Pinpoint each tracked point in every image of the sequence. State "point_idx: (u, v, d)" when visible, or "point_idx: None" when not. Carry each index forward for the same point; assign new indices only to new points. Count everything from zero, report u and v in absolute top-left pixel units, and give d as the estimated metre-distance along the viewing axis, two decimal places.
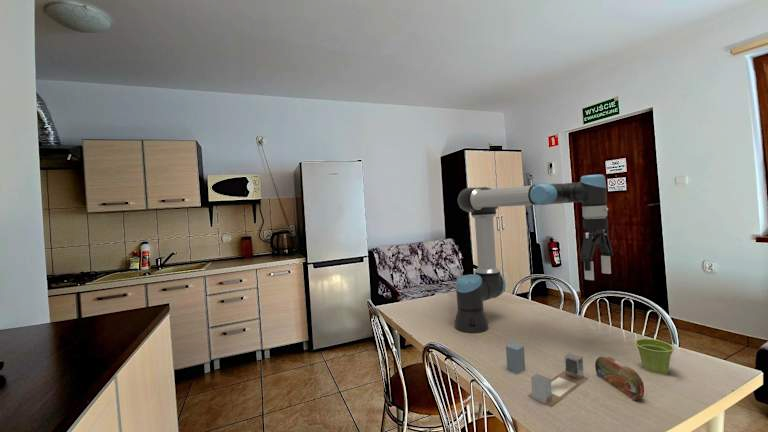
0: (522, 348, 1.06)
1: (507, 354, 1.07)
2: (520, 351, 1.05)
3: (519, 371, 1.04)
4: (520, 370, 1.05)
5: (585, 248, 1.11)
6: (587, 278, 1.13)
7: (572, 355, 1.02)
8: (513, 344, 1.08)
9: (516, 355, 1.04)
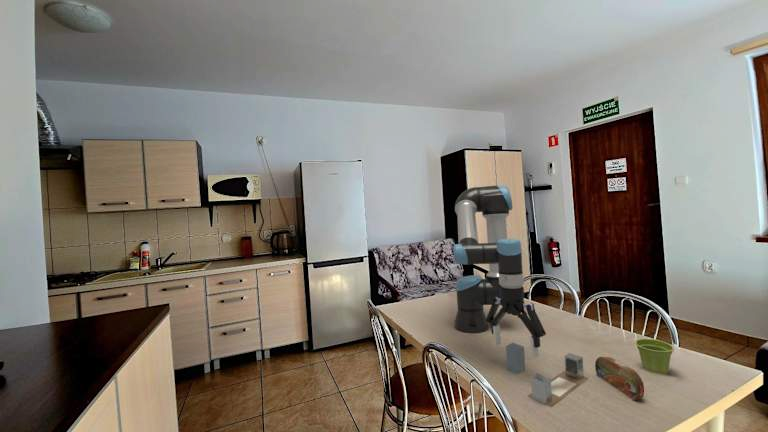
0: (522, 348, 1.06)
1: (507, 354, 1.07)
2: (520, 351, 1.05)
3: (519, 371, 1.04)
4: (520, 370, 1.05)
5: None
6: None
7: (572, 355, 1.02)
8: (513, 344, 1.08)
9: (516, 355, 1.04)
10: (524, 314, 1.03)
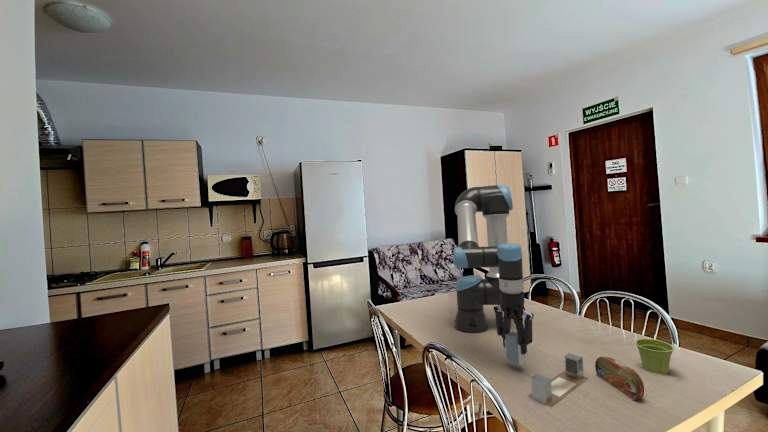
0: None
1: (506, 342, 1.07)
2: None
3: None
4: None
5: None
6: None
7: (572, 355, 1.02)
8: (512, 332, 1.08)
9: (515, 344, 1.04)
10: (520, 320, 1.05)
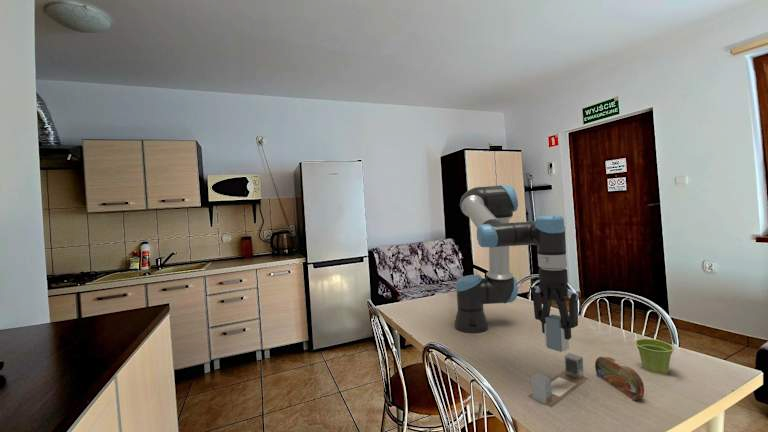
0: None
1: (547, 326, 0.95)
2: None
3: None
4: None
5: None
6: None
7: (572, 355, 1.02)
8: (553, 315, 0.96)
9: (558, 327, 0.92)
10: (563, 301, 0.93)
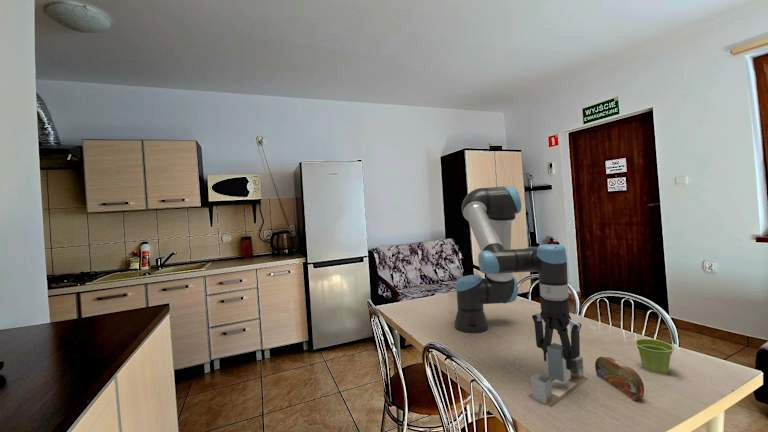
0: None
1: (548, 356, 0.95)
2: None
3: None
4: None
5: None
6: None
7: None
8: (555, 344, 0.96)
9: (560, 357, 0.92)
10: (565, 331, 0.93)
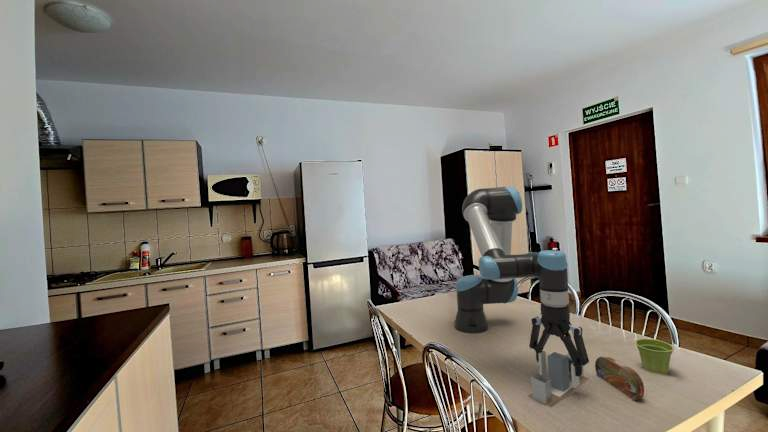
0: (567, 358, 0.94)
1: (549, 365, 0.95)
2: (564, 362, 0.94)
3: (564, 384, 0.93)
4: (565, 383, 0.93)
5: None
6: None
7: None
8: (555, 354, 0.97)
9: (560, 367, 0.93)
10: (568, 337, 0.92)
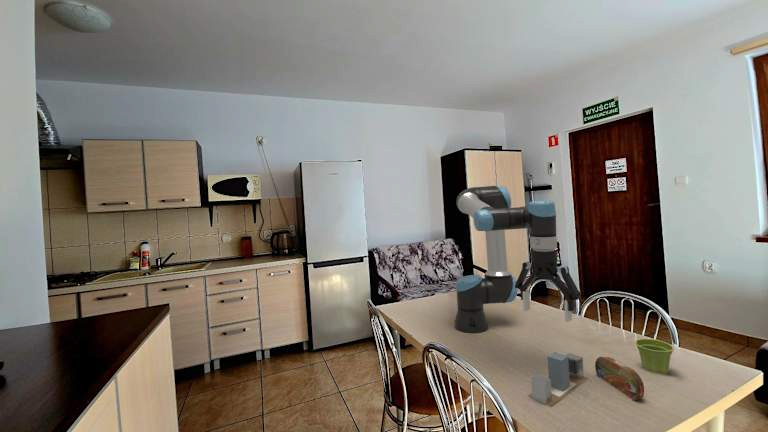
0: (567, 358, 0.94)
1: (549, 365, 0.95)
2: (564, 362, 0.94)
3: (564, 384, 0.93)
4: (565, 383, 0.93)
5: None
6: None
7: (572, 355, 1.02)
8: (555, 354, 0.97)
9: (560, 367, 0.93)
10: (557, 277, 1.00)
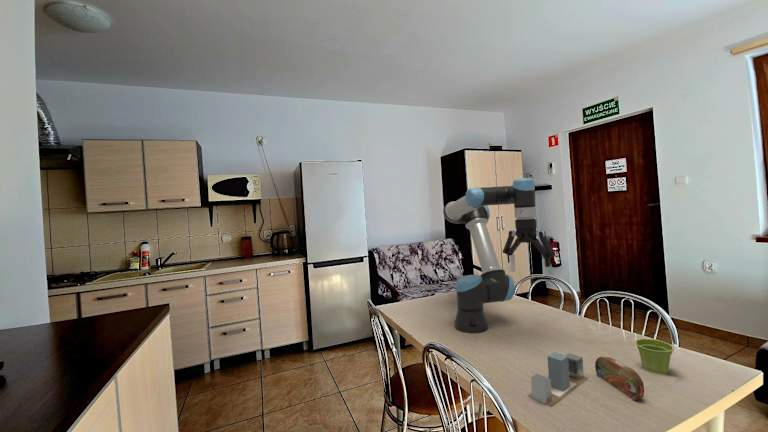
0: (567, 358, 0.94)
1: (549, 365, 0.95)
2: (564, 362, 0.94)
3: (564, 384, 0.93)
4: (565, 383, 0.93)
5: None
6: None
7: (572, 355, 1.02)
8: (555, 354, 0.97)
9: (560, 367, 0.93)
10: (536, 240, 1.21)
